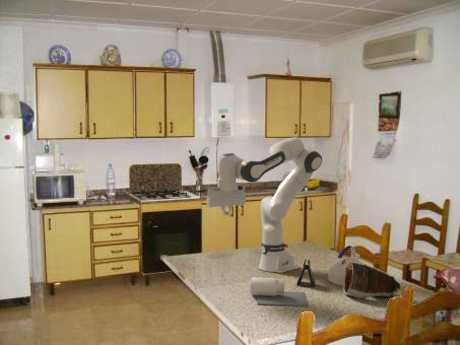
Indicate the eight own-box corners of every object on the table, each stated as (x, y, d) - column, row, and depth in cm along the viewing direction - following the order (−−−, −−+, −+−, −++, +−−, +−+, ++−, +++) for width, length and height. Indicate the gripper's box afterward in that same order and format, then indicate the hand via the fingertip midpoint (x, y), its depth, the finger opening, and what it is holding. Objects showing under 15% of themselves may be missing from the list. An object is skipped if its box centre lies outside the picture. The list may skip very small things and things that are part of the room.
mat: (257, 304, 200) (257, 303, 200) (256, 291, 216) (256, 290, 216) (307, 306, 199) (308, 305, 199) (303, 293, 215) (303, 292, 215)
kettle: (375, 280, 237) (377, 246, 236) (356, 290, 222) (357, 253, 220) (340, 271, 251) (341, 239, 249) (319, 280, 236) (321, 245, 234)
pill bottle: (253, 279, 217) (285, 281, 214) (251, 296, 213) (284, 299, 210) (250, 275, 210) (283, 277, 207) (249, 292, 207) (282, 295, 203)
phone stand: (315, 283, 230) (316, 260, 229) (314, 287, 224) (315, 263, 223) (297, 281, 232) (298, 258, 231) (296, 285, 226) (297, 261, 225)
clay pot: (409, 276, 207) (354, 264, 207) (402, 309, 206) (347, 297, 206) (397, 270, 221) (346, 259, 222) (391, 301, 221) (340, 290, 221)
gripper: (210, 188, 216) (210, 217, 217) (247, 186, 226) (247, 214, 227) (204, 186, 221) (204, 215, 223) (241, 185, 232) (240, 212, 233)
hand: (226, 214), depth 225 cm, fingers closed
